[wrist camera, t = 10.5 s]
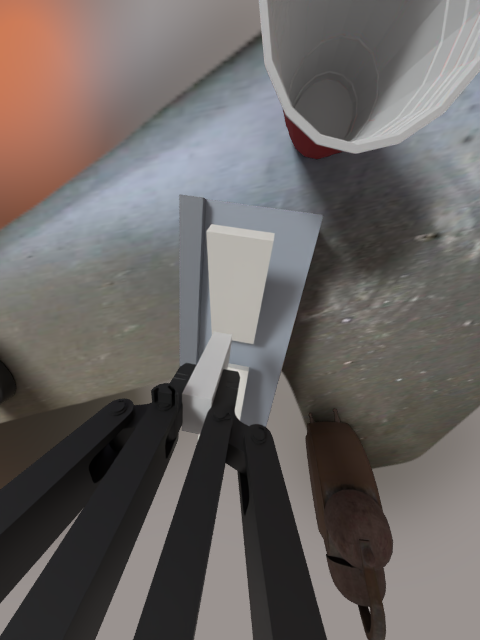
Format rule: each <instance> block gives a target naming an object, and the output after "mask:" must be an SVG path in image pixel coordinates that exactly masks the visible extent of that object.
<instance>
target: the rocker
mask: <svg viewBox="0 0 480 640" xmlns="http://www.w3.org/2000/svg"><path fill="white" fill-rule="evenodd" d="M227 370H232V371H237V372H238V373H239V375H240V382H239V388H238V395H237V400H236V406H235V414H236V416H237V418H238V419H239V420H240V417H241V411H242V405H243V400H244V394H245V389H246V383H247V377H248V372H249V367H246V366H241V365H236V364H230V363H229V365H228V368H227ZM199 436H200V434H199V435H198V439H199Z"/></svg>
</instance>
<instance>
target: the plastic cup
mask: <svg viewBox="0 0 480 640" xmlns="http://www.w3.org/2000/svg"><path fill="white" fill-rule="evenodd" d="M259 7H260V19H261V30H262V41H263V51H264V62H265V67H266V70H267V72H268V75H269V77H270V79H271V82H272V84H273V86H274V89H275V91H276V93H277V96H278V98H279V101H280V103H281V105H282V108H283V112H284V117H285V122H286V126H287V128H288V131H289V135H290V138H291V140H292V142H293V144H294V147H295V148H296V149H297V150H298V151H299V152H300V153H301V154H302V155H304V156H305V157H309V158H314V159H320V158H324V157H328V156H331V155H333V154H337V153H340V152H343V151H344V152H348V153H352V154H357V153H361V152H365V151H370V150H374V149H378V148H383V147H387V146H391V145H396V144H399V143H400V142H402V141H403V140H405V139H406V138H408V137H409V136H411V135H412V134H414V133H415V132H417V131H418V130H420V129H421V128H423V127H424V126H426V125H427V124H429V123H430V122H432V121H433V120H435V119H436V118H438V117H439V116H441V115H442V114H444V113H445V111H446V110H447V109H448V108H449V107H450V105H451V104H452V103H453V102H454V101H455V100H456V98H457V97H458V96H459V95H460V94H461V92H462V91H463V90H464V89H465V88H466V87H467V85H468V84H469V83H470V82H471V81H472V80H473V78H474V77H475V76H476V75H477V74H478V72H479V71H480V0H259Z"/></svg>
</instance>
